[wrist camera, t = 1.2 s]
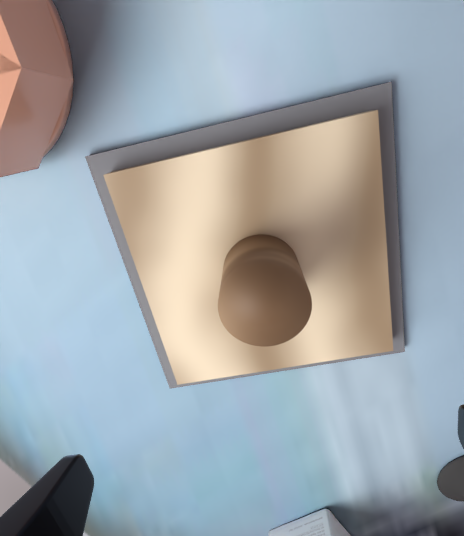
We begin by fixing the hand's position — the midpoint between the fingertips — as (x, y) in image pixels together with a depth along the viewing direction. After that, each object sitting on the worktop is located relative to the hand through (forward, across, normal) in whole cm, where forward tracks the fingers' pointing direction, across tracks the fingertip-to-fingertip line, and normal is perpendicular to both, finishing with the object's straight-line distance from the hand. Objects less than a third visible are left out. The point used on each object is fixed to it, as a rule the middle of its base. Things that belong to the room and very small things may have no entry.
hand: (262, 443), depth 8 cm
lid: (+12, 0, 0) cm, 12 cm away
